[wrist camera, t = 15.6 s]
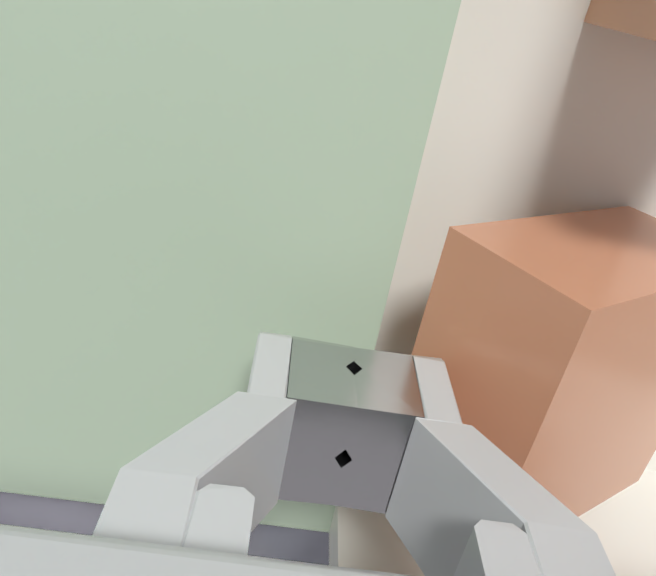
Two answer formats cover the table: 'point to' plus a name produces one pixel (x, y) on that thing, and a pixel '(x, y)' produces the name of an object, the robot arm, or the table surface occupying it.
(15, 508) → the table surface
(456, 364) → the tile
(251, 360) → the board
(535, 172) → the tray
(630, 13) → the tile
